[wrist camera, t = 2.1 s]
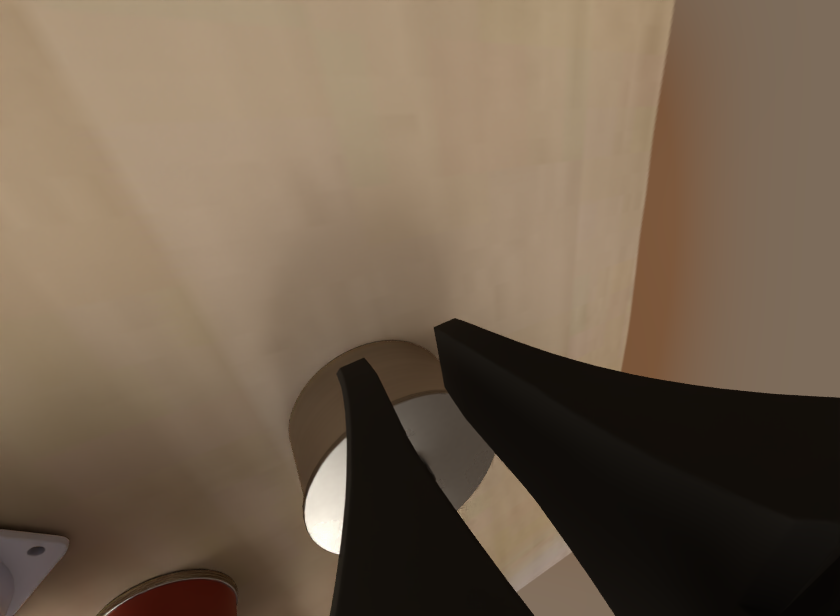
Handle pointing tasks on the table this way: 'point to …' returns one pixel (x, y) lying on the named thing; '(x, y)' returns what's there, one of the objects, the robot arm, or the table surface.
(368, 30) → the table surface
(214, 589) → the tin can
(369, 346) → the steel pot
